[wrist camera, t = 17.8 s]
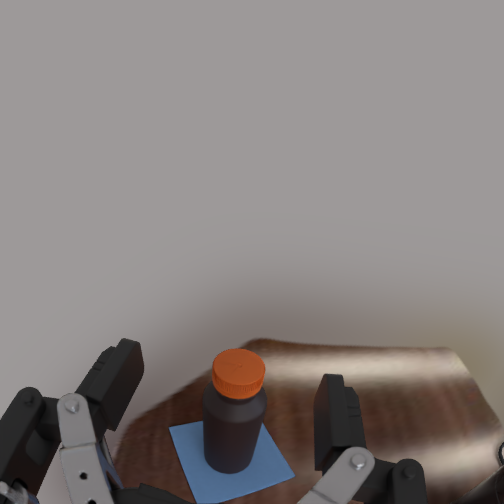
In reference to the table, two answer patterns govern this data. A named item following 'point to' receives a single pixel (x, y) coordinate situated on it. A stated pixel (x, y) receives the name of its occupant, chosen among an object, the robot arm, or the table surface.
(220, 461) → the bottle
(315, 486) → the robot arm
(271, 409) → the table surface
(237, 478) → the blue mat
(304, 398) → the table surface
